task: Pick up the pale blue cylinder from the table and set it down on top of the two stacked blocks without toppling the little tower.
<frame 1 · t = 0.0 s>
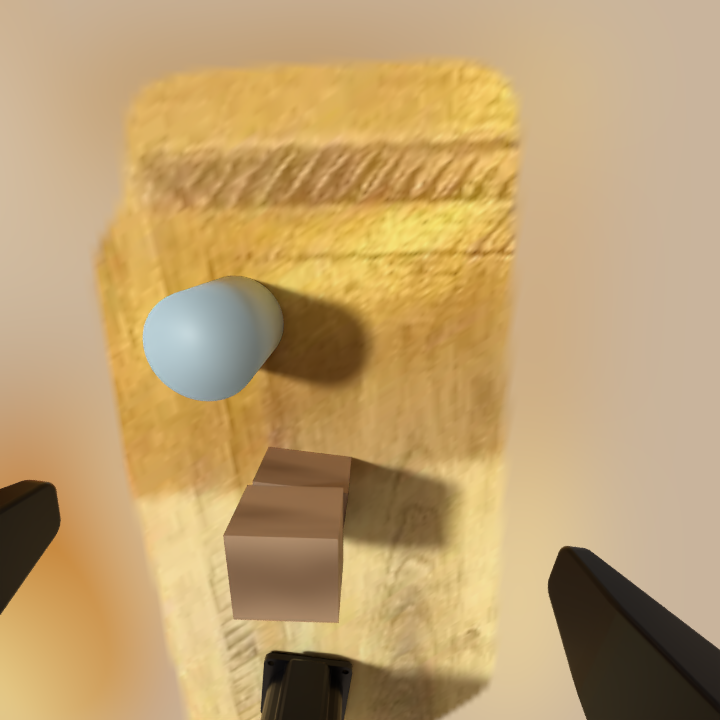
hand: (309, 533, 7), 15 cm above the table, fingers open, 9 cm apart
lower block: (307, 485, 24), on the table, touching upper block
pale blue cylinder: (239, 321, 21), on the table
upper block: (297, 525, 21), point 3 cm above the table, touching lower block
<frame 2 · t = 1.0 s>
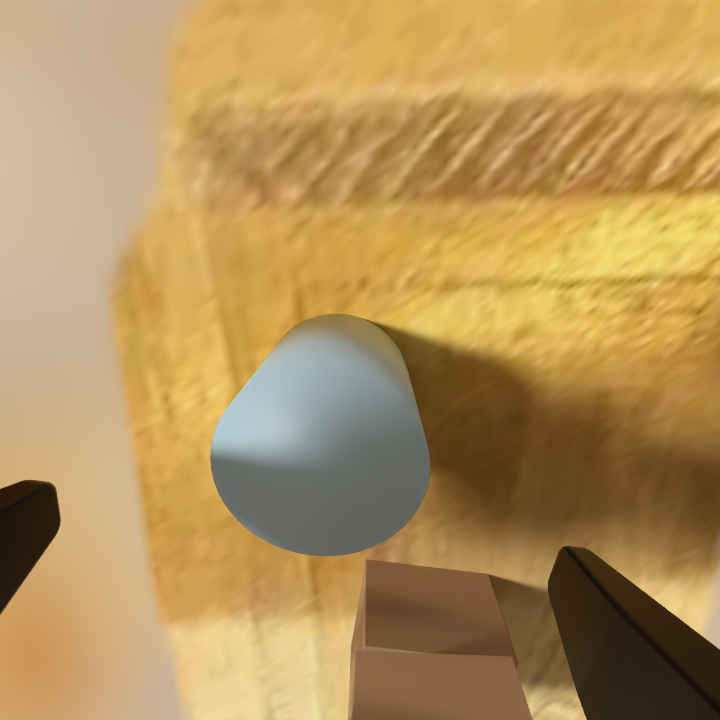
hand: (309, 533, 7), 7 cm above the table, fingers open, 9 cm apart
lower block: (416, 609, 17), on the table, touching upper block
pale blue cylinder: (337, 383, 13), on the table
upper block: (427, 704, 13), point 3 cm above the table, touching lower block
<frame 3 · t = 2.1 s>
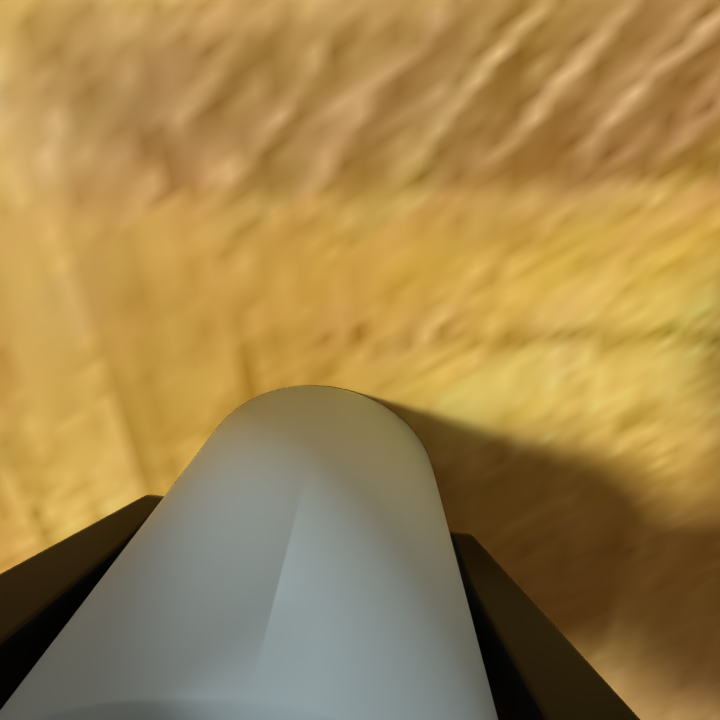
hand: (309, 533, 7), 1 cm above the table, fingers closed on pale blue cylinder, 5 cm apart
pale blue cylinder: (317, 494, 8), on the table, touching gripper
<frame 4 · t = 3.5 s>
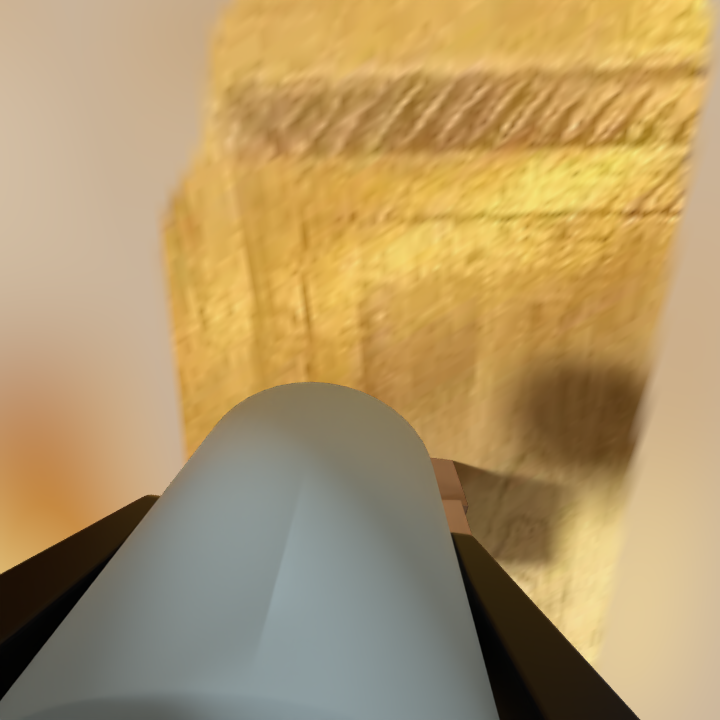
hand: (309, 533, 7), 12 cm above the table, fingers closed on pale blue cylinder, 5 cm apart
lower block: (396, 493, 21), on the table, touching upper block
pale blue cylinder: (316, 491, 8), point 11 cm above the table, touching gripper
upper block: (399, 544, 17), point 3 cm above the table, touching lower block
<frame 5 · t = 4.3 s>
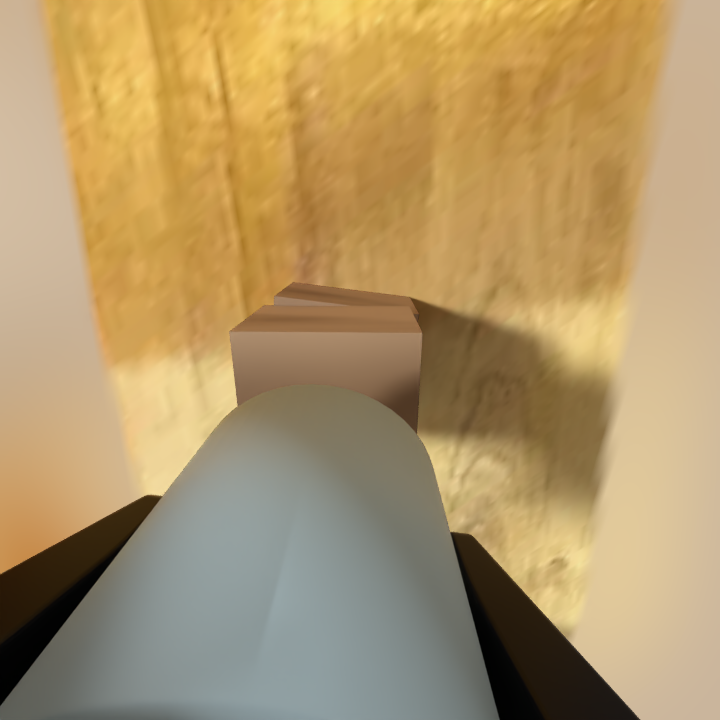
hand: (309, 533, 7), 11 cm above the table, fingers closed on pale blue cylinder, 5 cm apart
lower block: (345, 344, 17), on the table, touching upper block
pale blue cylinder: (316, 494, 8), point 10 cm above the table, touching gripper
upper block: (337, 373, 14), point 3 cm above the table, touching lower block
when the fingers open (9 cm above the table, at t = 5.0 s): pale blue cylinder drops 1 cm, resting on upper block.
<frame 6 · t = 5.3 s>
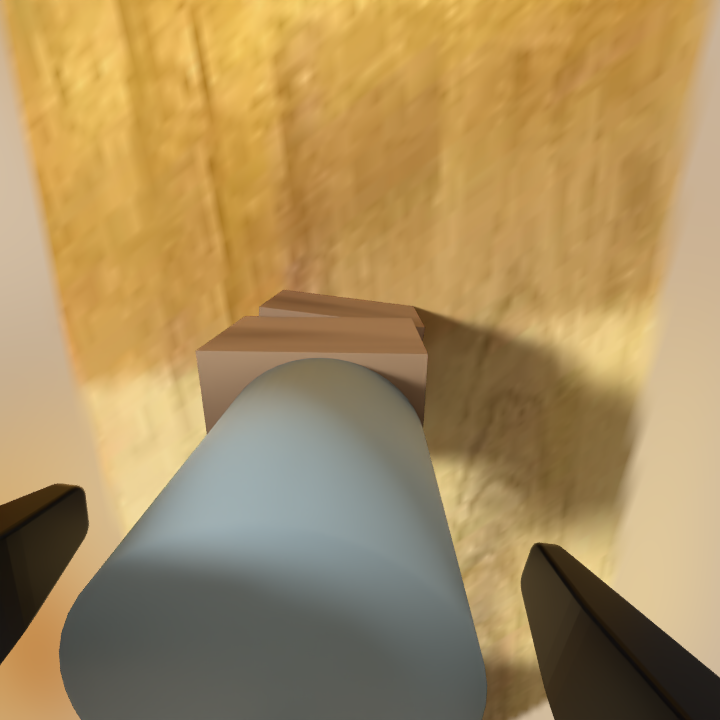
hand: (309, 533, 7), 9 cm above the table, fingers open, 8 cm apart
lower block: (341, 358, 16), on the table, touching upper block
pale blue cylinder: (323, 454, 9), point 7 cm above the table, touching upper block
upper block: (329, 393, 12), point 3 cm above the table, touching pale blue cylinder, lower block
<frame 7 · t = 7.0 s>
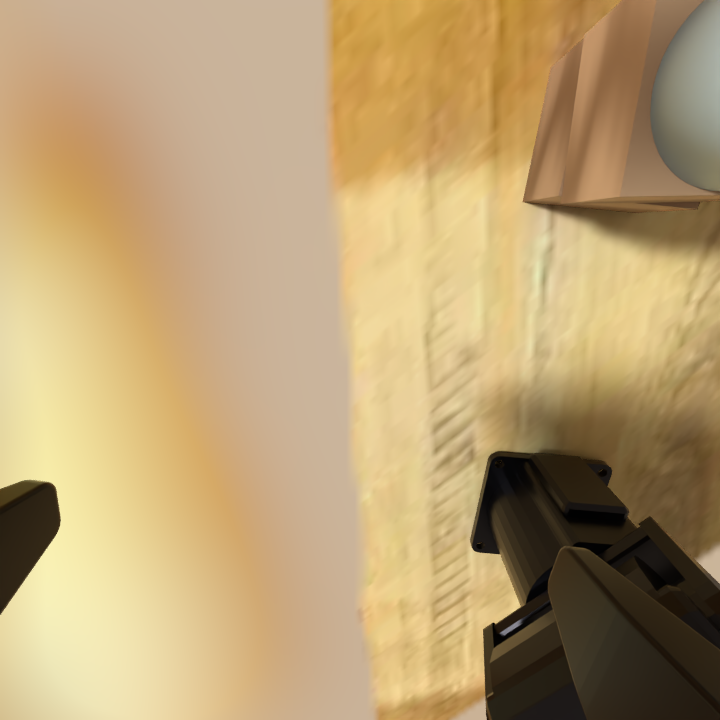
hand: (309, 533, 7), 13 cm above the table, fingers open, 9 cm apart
lower block: (594, 143, 16), on the table, touching upper block
upper block: (647, 122, 13), point 3 cm above the table, touching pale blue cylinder, lower block
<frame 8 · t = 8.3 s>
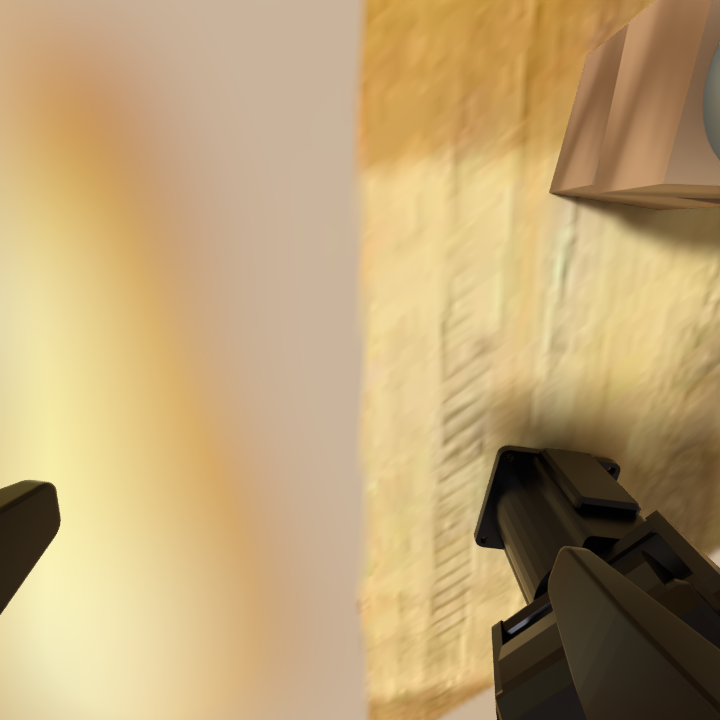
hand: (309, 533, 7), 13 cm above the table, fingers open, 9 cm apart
lower block: (624, 137, 16), on the table, touching upper block
upper block: (685, 115, 13), point 3 cm above the table, touching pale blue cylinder, lower block
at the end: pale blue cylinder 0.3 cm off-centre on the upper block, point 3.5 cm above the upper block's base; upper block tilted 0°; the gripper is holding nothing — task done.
